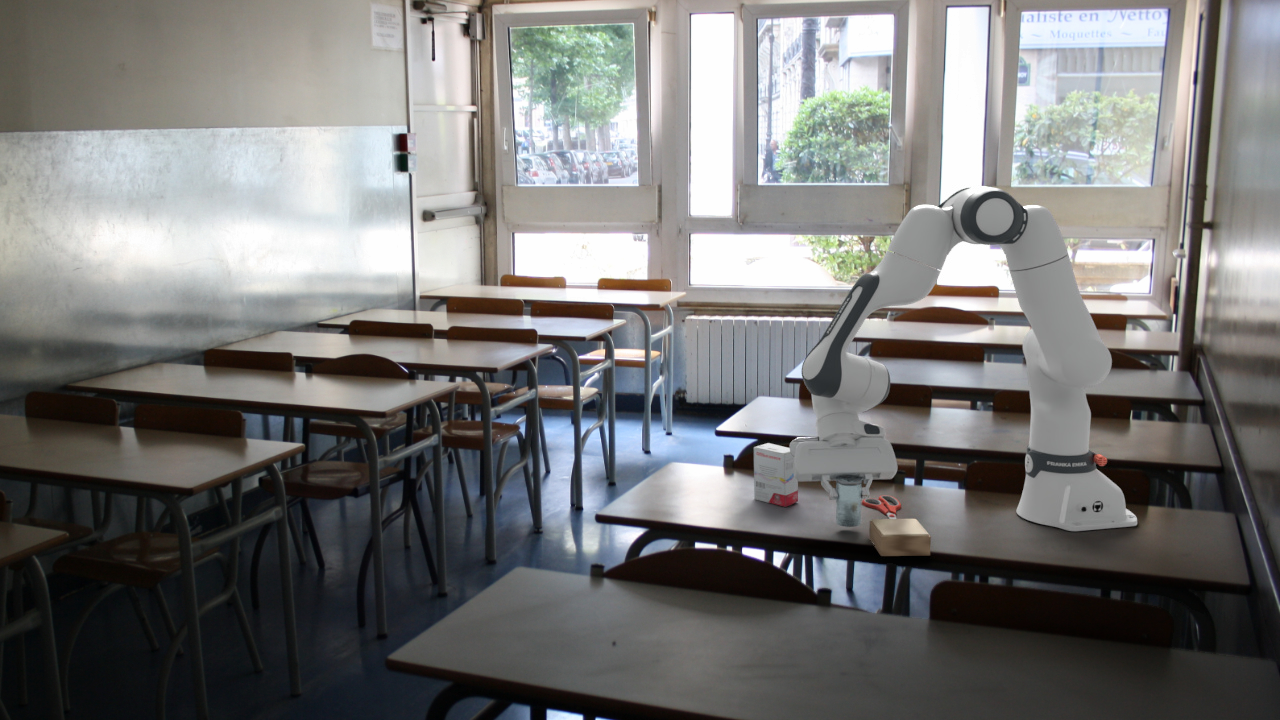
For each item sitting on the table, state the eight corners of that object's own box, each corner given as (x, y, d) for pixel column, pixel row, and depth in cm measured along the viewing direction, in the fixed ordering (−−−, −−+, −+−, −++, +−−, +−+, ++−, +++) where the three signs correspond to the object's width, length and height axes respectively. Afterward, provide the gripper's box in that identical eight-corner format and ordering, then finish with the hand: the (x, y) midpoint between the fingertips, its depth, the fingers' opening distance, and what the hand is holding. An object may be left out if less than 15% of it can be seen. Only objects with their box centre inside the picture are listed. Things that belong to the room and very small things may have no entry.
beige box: (915, 538, 192) (916, 518, 192) (930, 555, 183) (930, 534, 183) (869, 538, 192) (869, 518, 191) (881, 556, 183) (881, 535, 183)
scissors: (896, 536, 195) (896, 529, 194) (857, 502, 215) (857, 496, 215) (933, 534, 196) (934, 527, 195) (891, 500, 216) (891, 494, 216)
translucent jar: (858, 518, 199) (859, 474, 197) (864, 526, 194) (865, 481, 192) (833, 518, 199) (833, 475, 197) (838, 527, 194) (838, 482, 192)
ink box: (799, 503, 214) (800, 449, 212) (784, 508, 210) (785, 453, 208) (767, 494, 220) (767, 441, 218) (752, 499, 216) (752, 446, 214)
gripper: (790, 429, 200) (798, 492, 192) (892, 427, 200) (904, 489, 192) (786, 445, 205) (794, 506, 197) (886, 443, 205) (898, 503, 197)
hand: (849, 498), depth 195 cm, fingers closed on translucent jar, 5 cm apart
